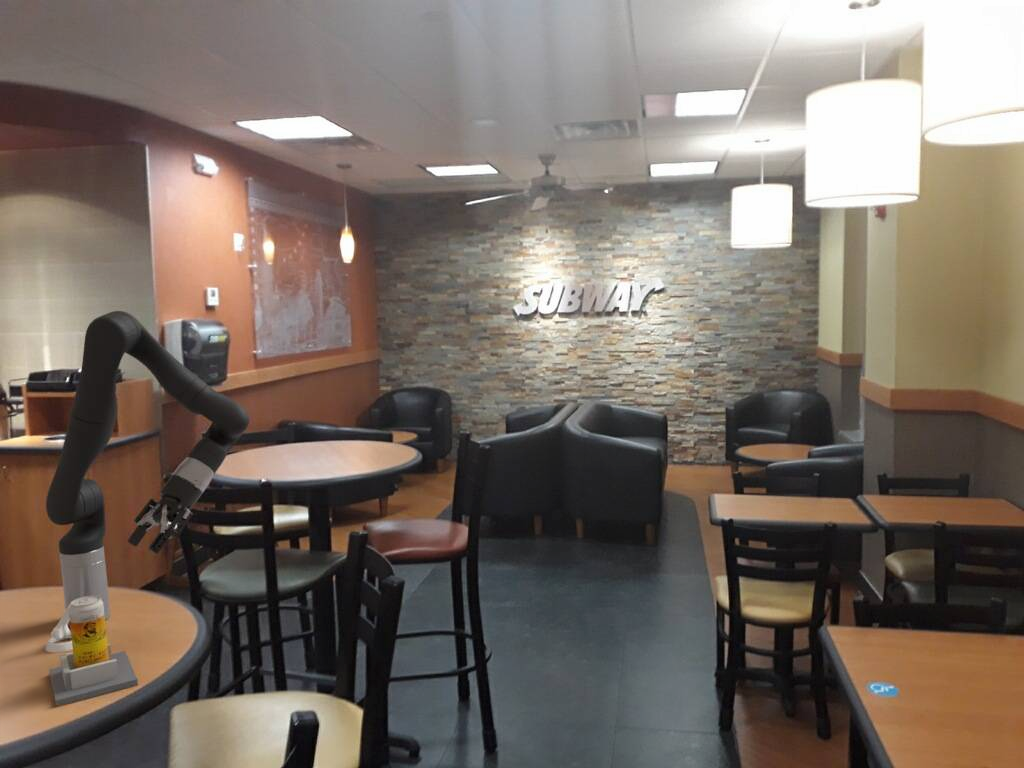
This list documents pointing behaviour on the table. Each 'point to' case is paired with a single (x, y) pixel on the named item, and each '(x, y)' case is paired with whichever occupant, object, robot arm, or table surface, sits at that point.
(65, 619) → the hook
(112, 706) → the table surface
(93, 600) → the beer can
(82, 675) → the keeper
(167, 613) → the table surface
